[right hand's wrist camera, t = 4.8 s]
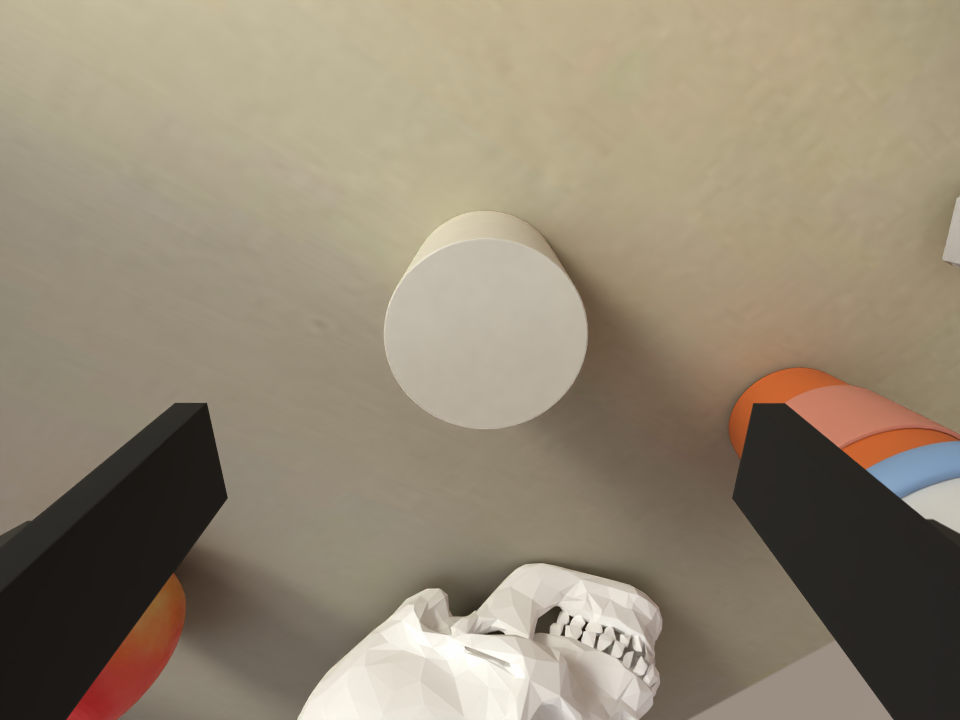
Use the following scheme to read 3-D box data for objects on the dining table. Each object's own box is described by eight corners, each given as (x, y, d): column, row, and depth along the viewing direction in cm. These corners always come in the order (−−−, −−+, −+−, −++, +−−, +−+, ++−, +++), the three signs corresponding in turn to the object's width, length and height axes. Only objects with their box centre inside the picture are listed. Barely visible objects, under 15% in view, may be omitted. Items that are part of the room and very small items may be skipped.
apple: (32, 501, 30) (-164, 657, 21) (191, 494, 30) (63, 649, 21) (90, 620, 34) (-56, 797, 25) (232, 615, 34) (138, 792, 25)
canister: (515, 379, 27) (526, 458, 21) (387, 319, 26) (353, 382, 19) (588, 254, 25) (628, 297, 18) (449, 181, 24) (436, 197, 17)
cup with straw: (888, 449, 29) (1445, 870, 12) (728, 510, 30) (1023, 954, 14) (852, 308, 26) (1533, 617, 9) (676, 385, 27) (974, 765, 11)
